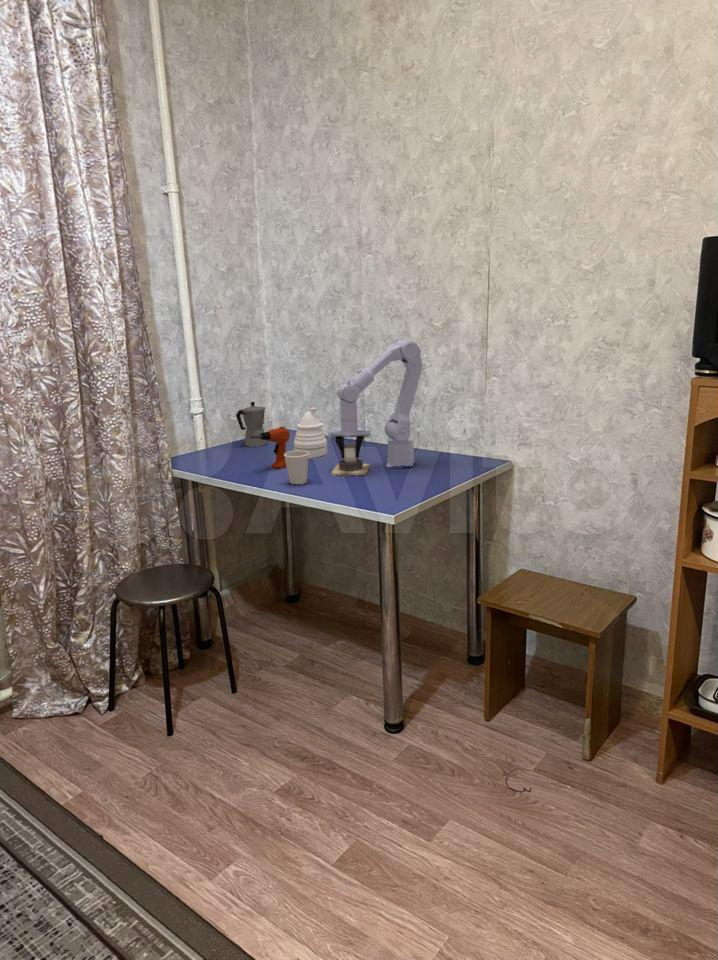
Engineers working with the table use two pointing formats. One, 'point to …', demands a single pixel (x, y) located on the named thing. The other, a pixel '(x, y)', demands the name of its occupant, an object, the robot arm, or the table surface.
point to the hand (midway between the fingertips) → (350, 457)
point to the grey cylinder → (350, 453)
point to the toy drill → (280, 438)
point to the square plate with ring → (350, 468)
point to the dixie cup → (297, 466)
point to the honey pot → (310, 435)
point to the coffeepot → (252, 424)
